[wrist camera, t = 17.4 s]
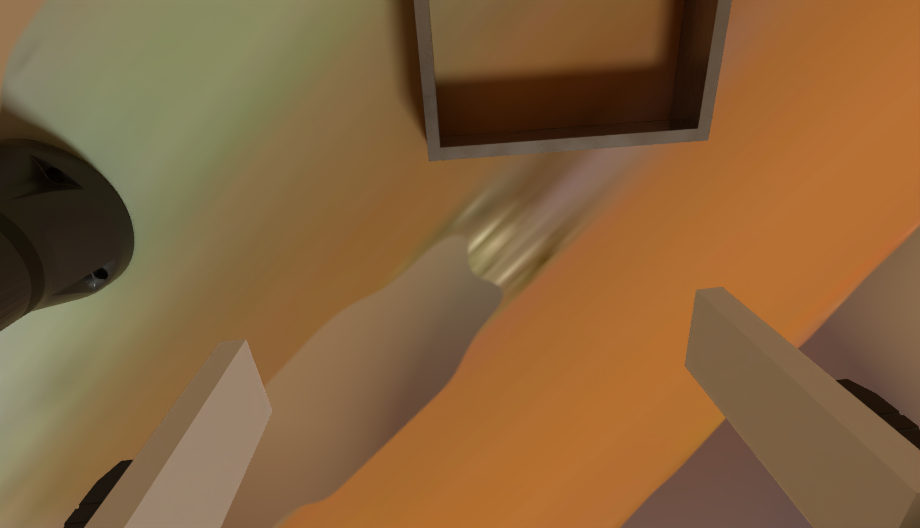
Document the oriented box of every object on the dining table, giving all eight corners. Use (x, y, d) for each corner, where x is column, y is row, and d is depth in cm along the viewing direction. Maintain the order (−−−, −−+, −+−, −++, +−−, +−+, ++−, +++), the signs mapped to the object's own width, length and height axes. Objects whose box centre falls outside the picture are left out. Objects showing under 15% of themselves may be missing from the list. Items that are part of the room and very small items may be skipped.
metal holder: (430, 148, 41) (428, 161, 37) (413, -32, 35) (409, -44, 31) (678, 130, 42) (708, 140, 37) (704, -53, 35) (743, -67, 31)
